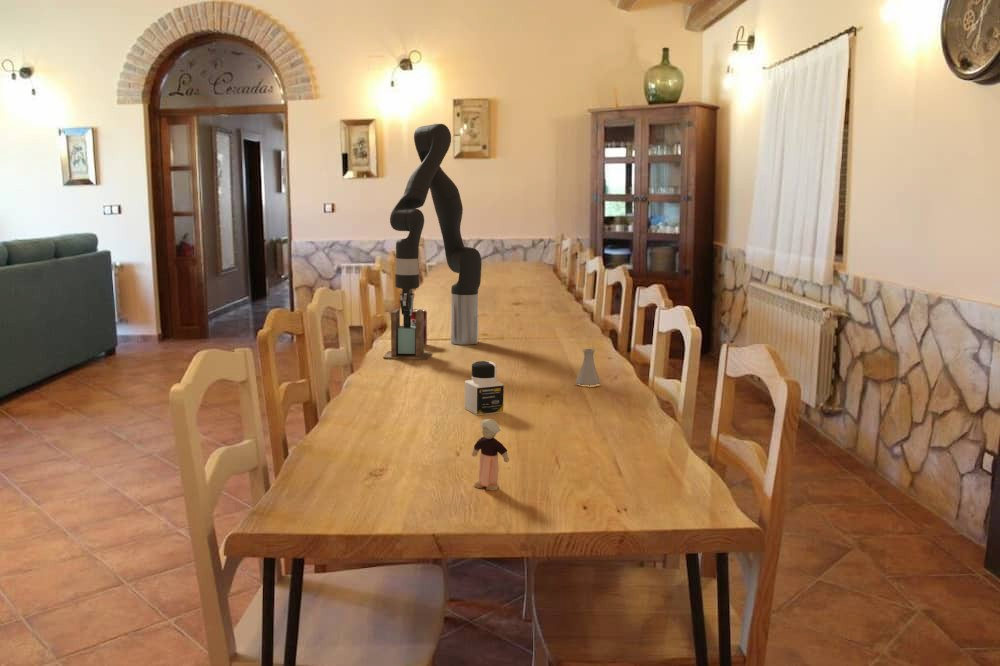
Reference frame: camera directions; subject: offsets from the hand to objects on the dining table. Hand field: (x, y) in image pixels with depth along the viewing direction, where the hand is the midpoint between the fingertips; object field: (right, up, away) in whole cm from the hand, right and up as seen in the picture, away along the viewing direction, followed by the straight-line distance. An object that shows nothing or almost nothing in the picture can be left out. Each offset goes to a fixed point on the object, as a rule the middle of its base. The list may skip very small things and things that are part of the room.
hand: (407, 327), depth 267 cm
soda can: (+1, -6, +21) cm, 22 cm away
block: (0, -8, +1) cm, 8 cm away
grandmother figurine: (+27, -30, -116) cm, 123 cm away
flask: (+54, -16, -35) cm, 66 cm away
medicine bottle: (+25, -21, -63) cm, 71 cm away
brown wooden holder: (0, -9, +2) cm, 9 cm away
